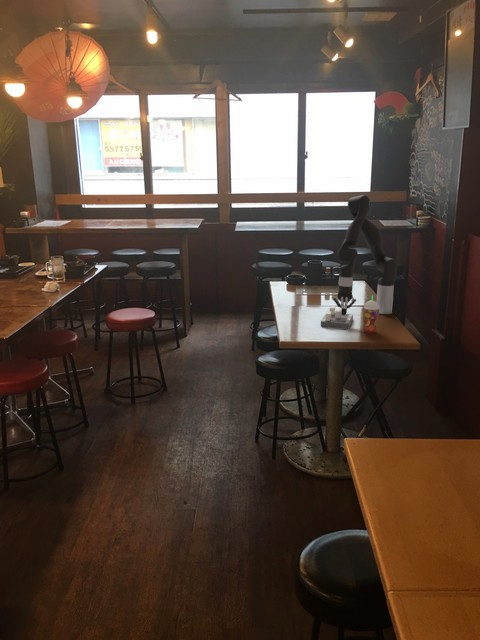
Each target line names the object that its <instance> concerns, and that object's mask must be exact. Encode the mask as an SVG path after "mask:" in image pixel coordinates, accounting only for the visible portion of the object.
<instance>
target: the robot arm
mask: <svg viewBox="0 0 480 640" xmlns="http://www.w3.org/2000/svg"><path fill="white" fill-rule="evenodd" d="M347 200H348V201H347V207H348V209H349V212H350V213H351V215H352V218H353V220H352V222H351V223H350V224H349V226H348V228H347V229H346V233H345V236H344V241H343V242H342V244H341V246H340V247H339V249H338V251H337V258H338V260H339V261H342V262H349V263H348V264H343V265H341V266H340V268H339V277H338V289H337V290H338V293H337V295H336V296H335V297H333V299H332V300H333V302H334V303H335V304H336V305H337V307H338V308H340V309H341V314H342V315H345V314H348V313H347V312H348V309H350V308H351V307H352V306H353V305H354V304H355V303H356V302H357V299H356V298H355V297H354V296H353V287H354V282H353V281H354V280H353V277H354V268H355V264H356V261H357V259H358V255H359V253H358V251H357V250H358V249H356V248H355V247H356V246H357V244H358V242H359V241H358V240H359V237H360V232H361V234H362V236H363V239H364V240H365V243H366V244H367V247H368V248H369V250H370V252H371V254H372V255H371V256H372V258H373V261H374V262H375V265H376V268H377V270H378V271H379V272H381V273H382V277H381V278H379V279H378V280H377V291H376V300H375V302H377V303H378V305H379V307H380V308H379V314H381V315H392V311H393V310H392V309H393V301H394V288H395V287H394V286H395V281H396V280H397V272H398V262H397V260H396V258H395V259H394V258H391V257H388V256H387V255H386V253H385V251H384V247H383V235H382V233H381V231H380V229H379V227H378V226H377V225H376V224H375V223H374V222H373V221H371V220H370V219H368V218H367V215H368V212H369V210H370V207H371V200H370V198H369V196H368V195H366V194H361V195H360V194H359V195H356V196H351V197H350V198H349V199H347ZM353 247H354V248H353Z"/></svg>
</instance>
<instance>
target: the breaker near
mask: <svg viewBox="0 0 480 640" xmlns="http://www.w3.org/2000/svg"><path fill="white" fill-rule="evenodd" d="M325 315H326V320H325V321H330V320H331V315H332V312H330V310H329V311H327V312H326V313H325Z"/></svg>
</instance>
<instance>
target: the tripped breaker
mask: <svg viewBox="0 0 480 640" xmlns="http://www.w3.org/2000/svg"><path fill="white" fill-rule="evenodd" d="M340 317H341V308H340V309H338V308H337V309H335V318H337V319H340Z"/></svg>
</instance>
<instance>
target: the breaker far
mask: <svg viewBox="0 0 480 640" xmlns="http://www.w3.org/2000/svg"><path fill="white" fill-rule="evenodd" d="M329 312H332V315H334V314H335V312H336V306H335V305H331V306H330V307H329Z"/></svg>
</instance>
